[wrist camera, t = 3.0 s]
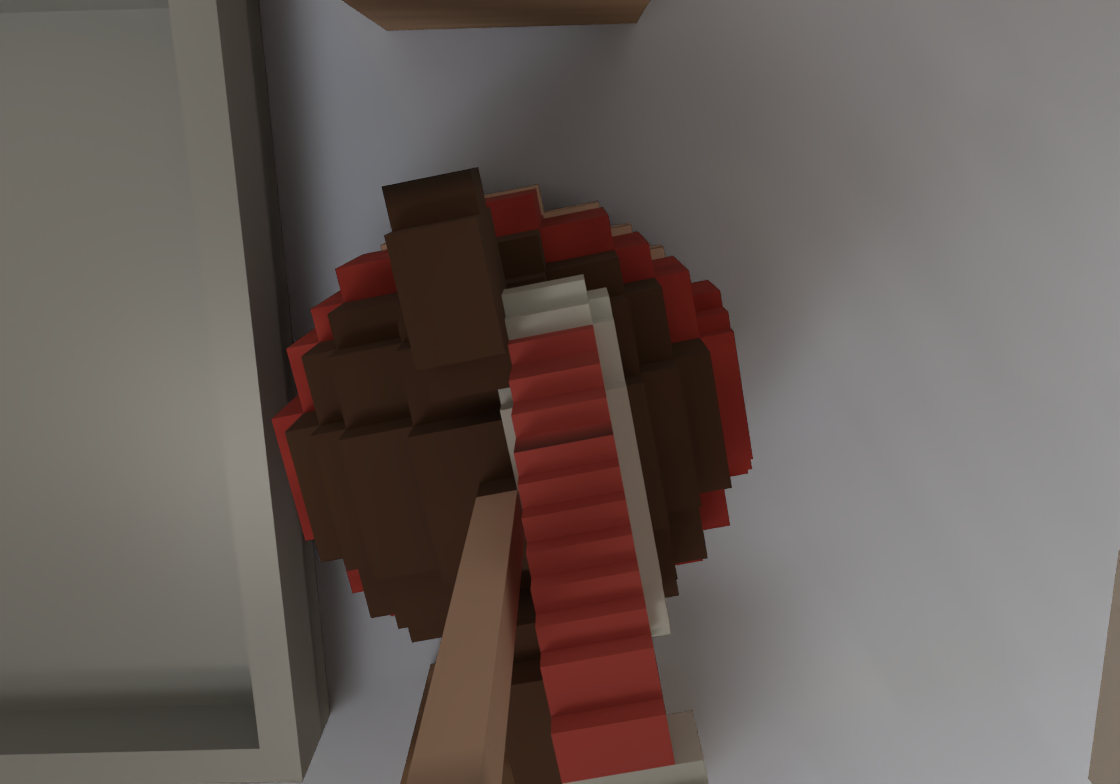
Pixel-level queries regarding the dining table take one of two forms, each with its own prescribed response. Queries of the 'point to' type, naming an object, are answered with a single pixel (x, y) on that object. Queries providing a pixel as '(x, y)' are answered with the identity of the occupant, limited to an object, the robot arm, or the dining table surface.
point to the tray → (146, 406)
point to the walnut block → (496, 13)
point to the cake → (520, 471)
